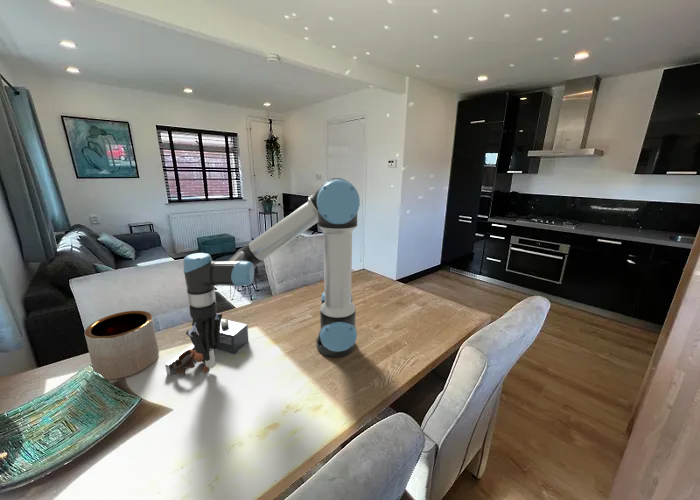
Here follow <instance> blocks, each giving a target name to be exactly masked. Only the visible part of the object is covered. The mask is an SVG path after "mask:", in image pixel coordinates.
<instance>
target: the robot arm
mask: <svg viewBox="0 0 700 500" xmlns="http://www.w3.org/2000/svg"><path fill="white" fill-rule="evenodd" d="M307 198H308V199H307V202H305V203H303V204H302V205H300V206H299V207H298V208H296V209H295V210H294V211H293V212H291V213H290V214H289V215H287V216H285V217H284V218H282V220H280V221H278V222H277V223H276V224H274V225H273V226H271V227H270V228H268V230H266V231H264V232H263V233H261V234H260V235H258V236H257V237H256V238H255V239H253V240H252V241H250V242H249V243H247V244H246V245H245V246H242V247H241V248H239V249H238V250H237V251H236V252H235V253H234V254H233V256H231V257H230V258H229V259H228V260H221V261H220V260H219V261H218V260H213V259H212V256H211V255H210V254H209V253H205V252H196V253H191V254H188V255H186V256H184V258H183V261H182V262H183V273H184V279H185V285H186V293H187V299H188V300H187V301H188V304H189V307H188V308H189V314H190V317H191V318H192V323H191V326H192V327H191V329H190V330H187V331H186V333H185V334H186V335H187V336H188V337H189V339H190V341H191V343H192V345H194V348H195V350H196V352H197V353H200V354H203V359H204V360H205V364H206V367H209V369H213V368H215V367H216V366H217V364H216V356H215V355H216V349H215V348H217V346H218V345H216V343H219V338H220V324H221V319H223V313H220V312H219V313H217V311H218V307H217V301H216V300H217V299H216V298H217V297H216V291H215V286H217V287H218V286H220V287H221V286H228V287H231V286H236V287H243V286H250V285H251V284H252V283H254V277H255V267H256V266H257V265H259V264H261V263H262V262H263V261H264V260H265V259H267V258H268V257H270V256H272V254H275V252H277V251H278V250H280V249H281V248H282V247H284V246H285V245H287V244H288V243H290V242H292V241H293V240H295V239H296V238H297V237H299V236H301V235H302V234H303V233H304V232H306V231H308V230H309V229H310V228H311V227H312V226H314V225H316V224H317V223H318V224H317V225H318V228H319V229H320V230H322V231H323V272H324V273H323V276H324V278H323V279H324V280H323V281H324V282H323V283H324V291H323V292H322V294H321V298H320V301H321V303H320V304H321V305H320V308H319V309H320V310H319V314H320V316H319V317H320V318H319V319H320V322H319V323H320V329H319V332H318V335H317V338H316V340H315V341H316V342H315V343H316V345H315V347H316V349H317V352H319V353H320V354H322V355H324V356H326V357H328V358H329V357H330V358H342V357H346V356H348V355H349V354H351V353H352V352H353V351H354V348H355V343H356V341H357V337H358V332H357V331H358V330H357V328H356V320H357V319H356V313H357V312H356V311H357V310H356V309H357V306H356V305H355V304H354V303H353V300H354V298H353V293H352V260H353V258H352V257H353V255H352V254H353V252H352V249H353V231H354V230H355V229H356V228H358V211H359V209H360V204H361V200H360V194H359V192H358V190H357V188H356V187H355V186H354V185H353V183H351V182H349V180H346V179H344V178H341V177H333V178H330V179H327V180H326V181H325V182H324V183H323V184H322V185H321V186H320V187H319V188H318V189H317V190H316V191H315V192H313V193H312V194H311V195H310V196H308V197H307ZM215 338H216V339H215ZM205 364H204V365H205Z"/></svg>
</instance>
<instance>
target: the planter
mask: <svg viewBox="0 0 700 500" xmlns="http://www.w3.org/2000/svg"><path fill="white" fill-rule="evenodd" d="M155 330H156V329H155V324H154V320H153V315H152V314H151V313H150V312H148V311H145V310H129V311H122V312H117V313H114V314H109V315H107V316H105V317H102V318H99V319H97V320H96V321H93V322H92V323H91V324H90V325H89V326H87V327H86V328H85V330H84V337H85V340H86V344H87V345H86V346H87V349H88V353H89V357H90V358H89V359H90V363H91V366H92V370H94V371H95V372H97V373H99V374H101V375H102V376H103V377H104V378H106V379H105V380H118V379H123V378H126V377H130V376H132V375H135V374H137V373H139V372H141V371H144V370H145V369H147V368H148V367H149V366H151V364H153V363H154V362H155V361H156V360H157V358H158V356H159V355H160V354H159V353H160V351H159V345H158V340H157V336H156V335H157V334H156V331H155ZM94 371H93V372H94Z"/></svg>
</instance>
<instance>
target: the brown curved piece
mask: <svg viewBox="0 0 700 500" xmlns="http://www.w3.org/2000/svg"><path fill="white" fill-rule="evenodd" d="M184 351H185V350H184ZM181 353H182V352H181ZM190 353H191V355H190V357H189V358H188V359H187V360H186V361H185V362H184V363H183V364H182V363H181V361H182V360H183V359H184V357H186V356H187V355H188V354H190ZM178 358H179V359H180V360H179V361H177V360H176V361H175V362H174V365H173V368H175V374H177V375H178V374H183V375H186V369H194V368H195V366H196V364H195V363H194V361H196V362H197V363H203V364H204V365H203V367H202V368H201V371H202V372H203V373H204V374H207V373H208V371H209V370H210V368H209V367H206V364H205V360H204V359H203V354H200V353H197V352H196V350H193V349H189V350H187V351H185V352H184V353H182V354H181V355H180V356H179V357H178Z"/></svg>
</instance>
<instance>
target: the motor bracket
mask: <svg viewBox="0 0 700 500" xmlns="http://www.w3.org/2000/svg"><path fill="white" fill-rule="evenodd" d="M248 327H249V326H248V323H243V322H239V321H238V322H237V321H233V320H229V319H224V318H222V319H221V324H220V338H219V343H216V345H218V346H217V348H215V351H216V350H217V351H219V352H220V351H221V352H223V353H227V354H232V355H236V354H238V352H240V350H242V349H243V348H244V347H245V346H246V345H247V344H248V343H249V342H250V341H249V329H248ZM215 339H216V338H215ZM189 349H193V350H195V348H194V345H193V344H192V345H190V346H189V347H188V348H186V349H185V350H183V351H182V352H180V353H179V354H177V355H176V356H175V357H173V358H172V359H170V360H169V361H168V362H166V363H165V371H166V375H168V376H172V375H173V374H174V373H175V374H176V372H175V368H173V365H174V362H175V361H176V360H177V361H179V360H180V359H179V358H178V357H179V356H180V355H181V354H182V353H184V352H185V351H187V350H189ZM190 355H191V353H190V354H188V355H187V356H186V357H184V359H183V360H182V361H181V363H182V364H183V363H184V362H185V361H186V360H187V359H188V358H189V357H190Z"/></svg>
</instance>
